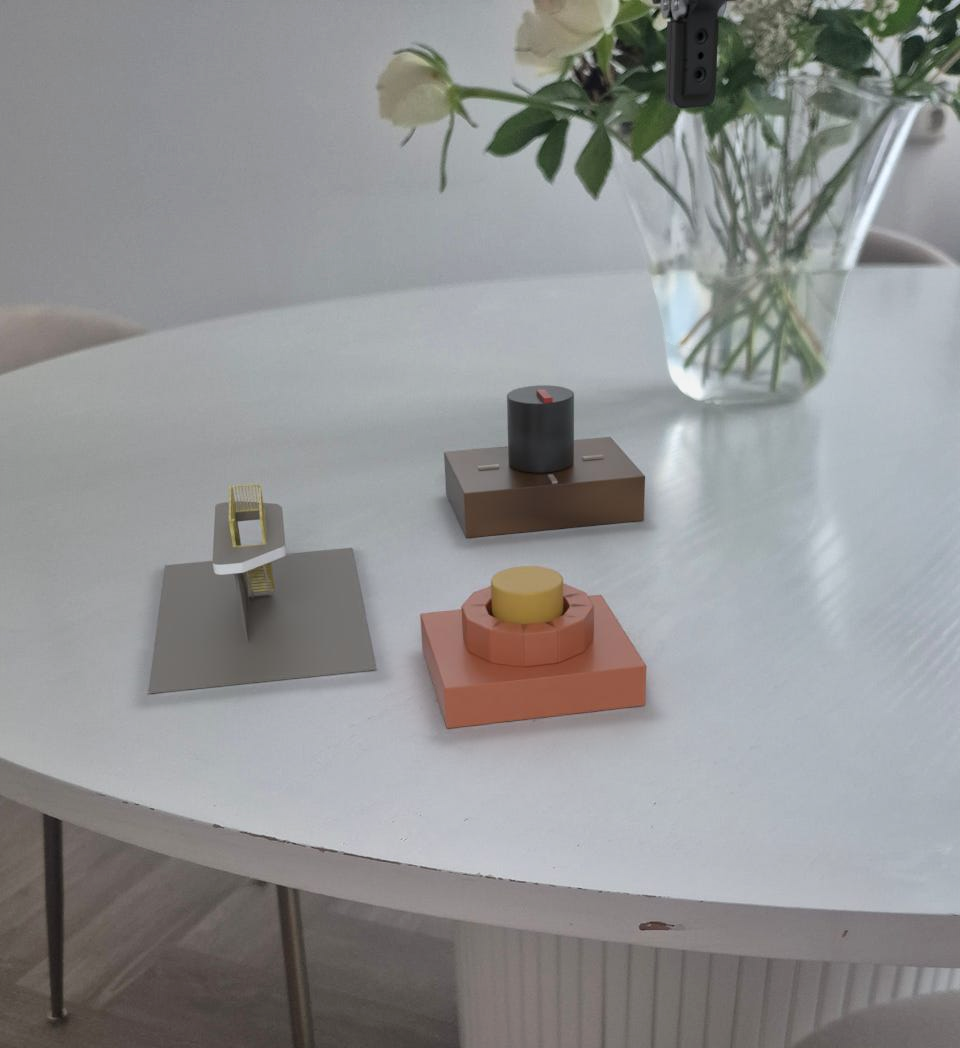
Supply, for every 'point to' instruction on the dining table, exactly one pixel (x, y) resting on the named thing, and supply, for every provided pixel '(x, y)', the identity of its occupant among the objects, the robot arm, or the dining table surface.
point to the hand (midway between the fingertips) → (689, 105)
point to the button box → (530, 662)
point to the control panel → (543, 490)
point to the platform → (258, 609)
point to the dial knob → (540, 428)
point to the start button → (527, 594)
